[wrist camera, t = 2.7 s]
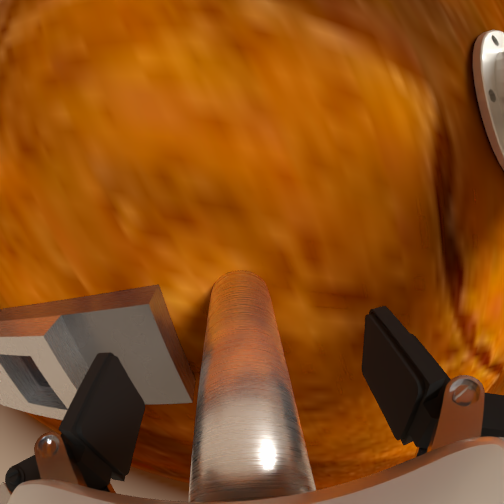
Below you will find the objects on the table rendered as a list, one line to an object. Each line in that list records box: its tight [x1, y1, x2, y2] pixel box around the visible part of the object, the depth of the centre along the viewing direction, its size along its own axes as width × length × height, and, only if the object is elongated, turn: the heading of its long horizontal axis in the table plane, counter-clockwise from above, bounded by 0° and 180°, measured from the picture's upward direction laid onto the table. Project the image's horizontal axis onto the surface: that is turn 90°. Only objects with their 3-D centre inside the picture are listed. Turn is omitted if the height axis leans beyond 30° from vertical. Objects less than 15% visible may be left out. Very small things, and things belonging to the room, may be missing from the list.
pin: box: [188, 271, 316, 502], centre depth 8 cm, size 4×4×13 cm
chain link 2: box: [0, 285, 195, 404], centre depth 14 cm, size 14×7×2 cm, turn 100°
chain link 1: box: [0, 309, 89, 420], centre depth 13 cm, size 12×7×4 cm, turn 100°
